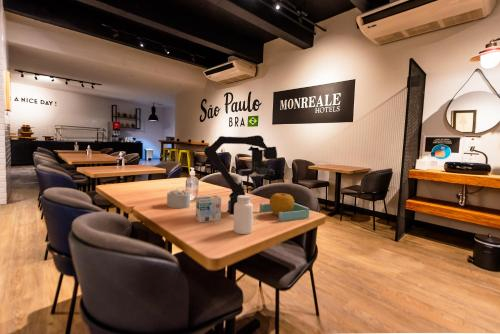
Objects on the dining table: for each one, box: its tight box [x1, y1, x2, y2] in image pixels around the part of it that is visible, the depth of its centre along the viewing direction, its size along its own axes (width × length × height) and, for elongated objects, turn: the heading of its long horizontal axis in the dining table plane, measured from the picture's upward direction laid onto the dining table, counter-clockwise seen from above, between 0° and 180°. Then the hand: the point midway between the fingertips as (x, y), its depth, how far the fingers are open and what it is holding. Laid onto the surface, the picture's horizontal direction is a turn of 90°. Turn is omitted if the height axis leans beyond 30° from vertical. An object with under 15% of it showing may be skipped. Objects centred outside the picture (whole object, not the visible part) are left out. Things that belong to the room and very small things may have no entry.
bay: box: [259, 202, 310, 223], centre depth 138 cm, size 18×20×5 cm
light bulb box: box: [195, 195, 222, 223], centre depth 125 cm, size 11×7×11 cm, turn 117°
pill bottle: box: [233, 194, 254, 235], centre depth 110 cm, size 8×8×15 cm
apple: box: [269, 192, 295, 217], centre depth 138 cm, size 13×13×11 cm
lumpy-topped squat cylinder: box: [166, 189, 191, 209], centre depth 148 cm, size 10×13×9 cm
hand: (256, 188), depth 140 cm, fingers closed
